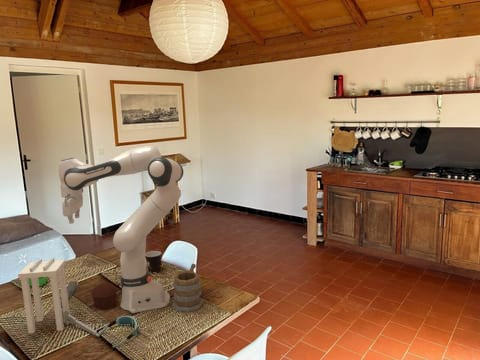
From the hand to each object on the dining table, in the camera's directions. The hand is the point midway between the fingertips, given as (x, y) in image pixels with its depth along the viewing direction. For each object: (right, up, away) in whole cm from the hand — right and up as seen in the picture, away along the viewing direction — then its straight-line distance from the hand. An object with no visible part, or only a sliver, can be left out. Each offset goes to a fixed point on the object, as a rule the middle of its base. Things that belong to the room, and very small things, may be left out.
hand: (74, 220), depth 180 cm
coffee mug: (+32, -32, +29) cm, 53 cm away
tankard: (+56, -37, -5) cm, 68 cm away
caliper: (+14, -42, -25) cm, 51 cm away
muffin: (+17, -39, -6) cm, 43 cm away
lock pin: (-5, -37, +3) cm, 38 cm away
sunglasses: (+31, -43, -30) cm, 61 cm away
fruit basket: (-28, -36, +17) cm, 48 cm away
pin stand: (-1, -42, -21) cm, 47 cm away
